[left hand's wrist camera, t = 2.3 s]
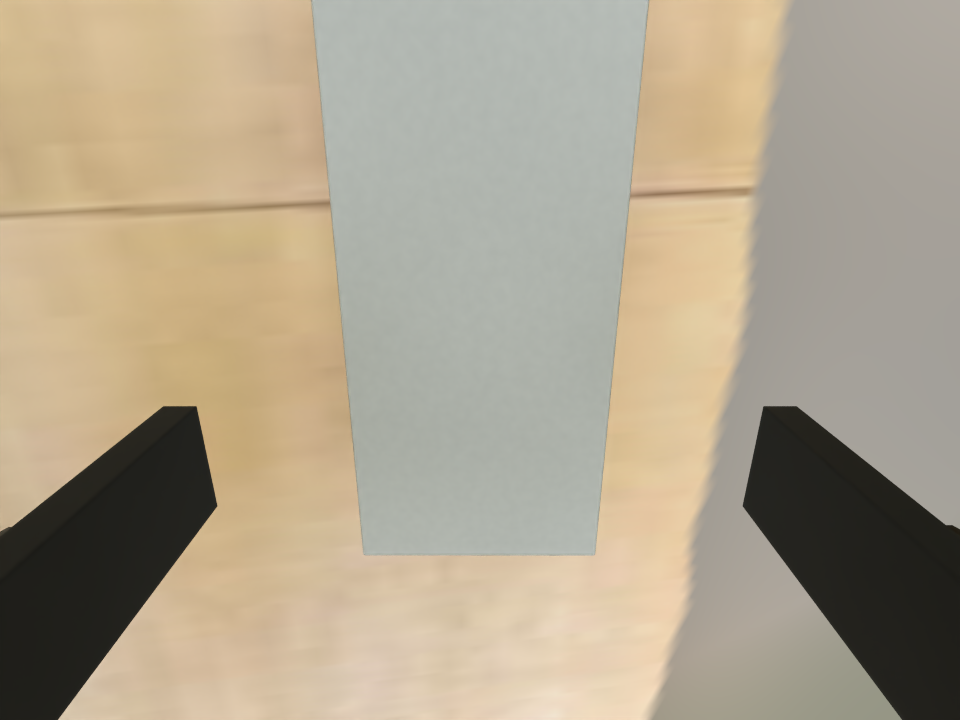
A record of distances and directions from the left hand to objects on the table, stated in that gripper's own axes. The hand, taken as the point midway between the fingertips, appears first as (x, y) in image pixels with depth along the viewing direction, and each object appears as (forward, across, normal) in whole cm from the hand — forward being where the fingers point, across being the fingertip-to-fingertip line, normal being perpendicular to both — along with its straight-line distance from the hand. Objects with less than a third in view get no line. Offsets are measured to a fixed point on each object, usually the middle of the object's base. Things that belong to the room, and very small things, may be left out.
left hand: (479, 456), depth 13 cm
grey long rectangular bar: (+13, 0, -17) cm, 22 cm away
